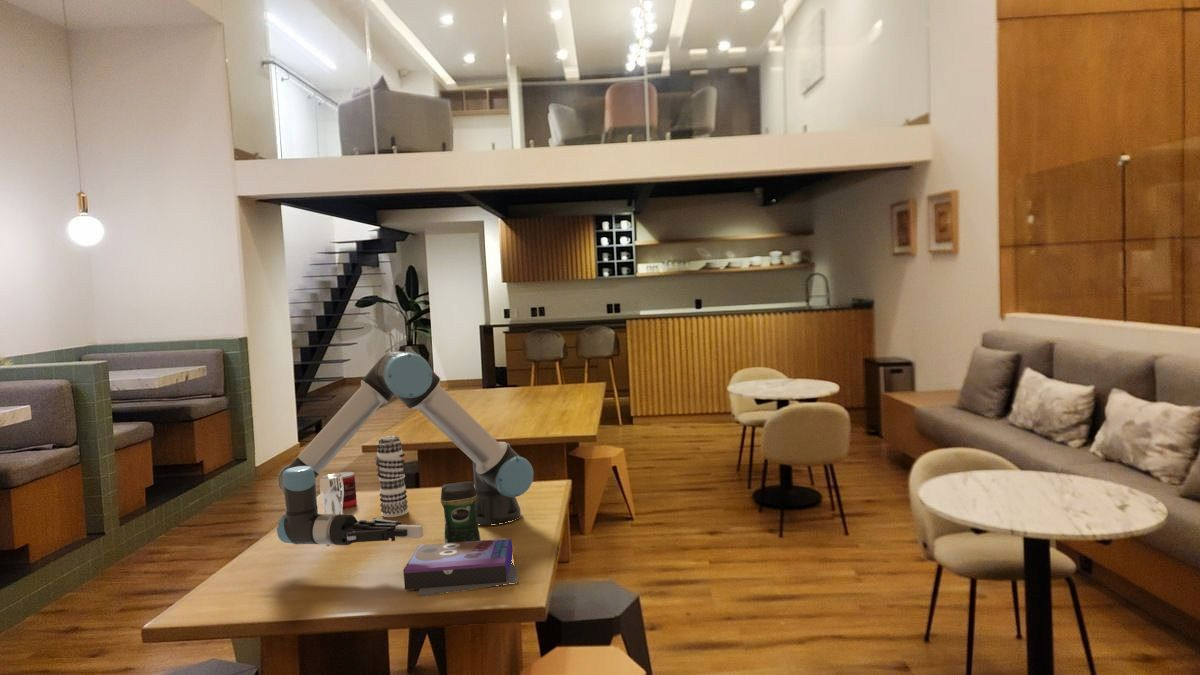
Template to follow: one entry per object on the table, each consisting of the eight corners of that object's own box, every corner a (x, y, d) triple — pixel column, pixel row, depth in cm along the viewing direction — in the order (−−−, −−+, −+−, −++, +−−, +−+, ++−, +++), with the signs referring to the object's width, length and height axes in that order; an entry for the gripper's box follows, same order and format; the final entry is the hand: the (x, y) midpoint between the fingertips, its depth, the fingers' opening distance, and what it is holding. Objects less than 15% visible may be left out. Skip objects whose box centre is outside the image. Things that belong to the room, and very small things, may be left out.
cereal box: (418, 545, 193) (511, 538, 194) (420, 563, 194) (513, 556, 194) (403, 569, 176) (505, 562, 177) (404, 589, 176) (507, 582, 177)
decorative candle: (396, 507, 250) (390, 433, 249) (415, 511, 245) (409, 435, 243) (374, 515, 243) (367, 439, 241) (392, 518, 237) (386, 440, 236)
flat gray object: (512, 552, 199) (512, 550, 199) (518, 583, 177) (518, 581, 177) (423, 563, 195) (423, 561, 195) (418, 596, 173) (418, 594, 173)
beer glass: (338, 526, 233) (334, 479, 232) (318, 526, 234) (314, 479, 233) (350, 519, 239) (346, 473, 239) (331, 519, 241) (327, 473, 240)
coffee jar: (479, 543, 208) (474, 477, 207) (482, 552, 201) (476, 484, 199) (444, 548, 206) (439, 481, 205) (445, 557, 198) (439, 488, 197)
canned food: (335, 504, 260) (333, 472, 259) (359, 502, 261) (356, 470, 260) (329, 510, 252) (327, 478, 252) (354, 508, 253) (351, 476, 252)
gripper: (352, 535, 196) (434, 537, 190) (322, 553, 183) (408, 556, 177) (350, 507, 195) (432, 508, 189) (319, 523, 183) (406, 524, 176)
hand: (421, 531), depth 183 cm, fingers closed
